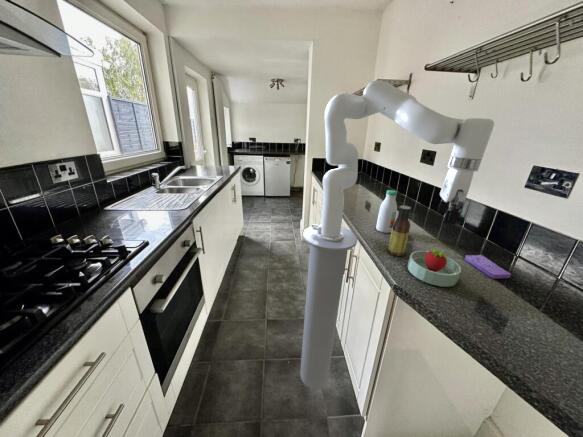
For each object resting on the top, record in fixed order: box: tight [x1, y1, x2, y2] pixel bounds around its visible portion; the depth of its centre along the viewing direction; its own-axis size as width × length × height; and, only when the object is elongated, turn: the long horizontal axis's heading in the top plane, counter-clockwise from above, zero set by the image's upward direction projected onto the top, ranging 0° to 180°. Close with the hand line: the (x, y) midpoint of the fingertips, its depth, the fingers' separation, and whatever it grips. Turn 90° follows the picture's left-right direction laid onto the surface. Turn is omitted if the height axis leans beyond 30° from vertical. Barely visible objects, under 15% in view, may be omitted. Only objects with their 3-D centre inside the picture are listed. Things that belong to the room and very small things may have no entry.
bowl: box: [407, 250, 462, 288], centre depth 80 cm, size 15×15×5 cm
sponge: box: [464, 254, 512, 279], centre depth 86 cm, size 7×13×2 cm, turn 5°
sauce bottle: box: [388, 205, 412, 257], centre depth 90 cm, size 7×6×20 cm
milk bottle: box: [375, 189, 398, 234], centre depth 111 cm, size 8×8×20 cm
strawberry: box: [425, 247, 447, 272], centre depth 79 cm, size 6×8×10 cm
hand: (445, 217), depth 74 cm, fingers open, 9 cm apart
